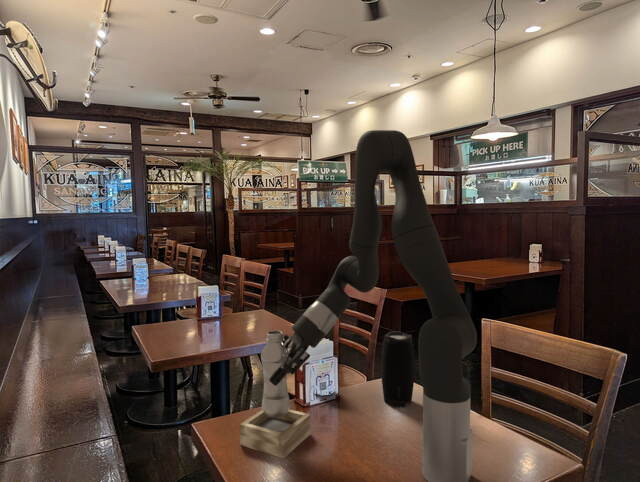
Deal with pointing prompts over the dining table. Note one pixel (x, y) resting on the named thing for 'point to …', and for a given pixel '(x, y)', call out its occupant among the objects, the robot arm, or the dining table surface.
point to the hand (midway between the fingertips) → (268, 377)
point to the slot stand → (275, 432)
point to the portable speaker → (397, 368)
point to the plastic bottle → (272, 358)
